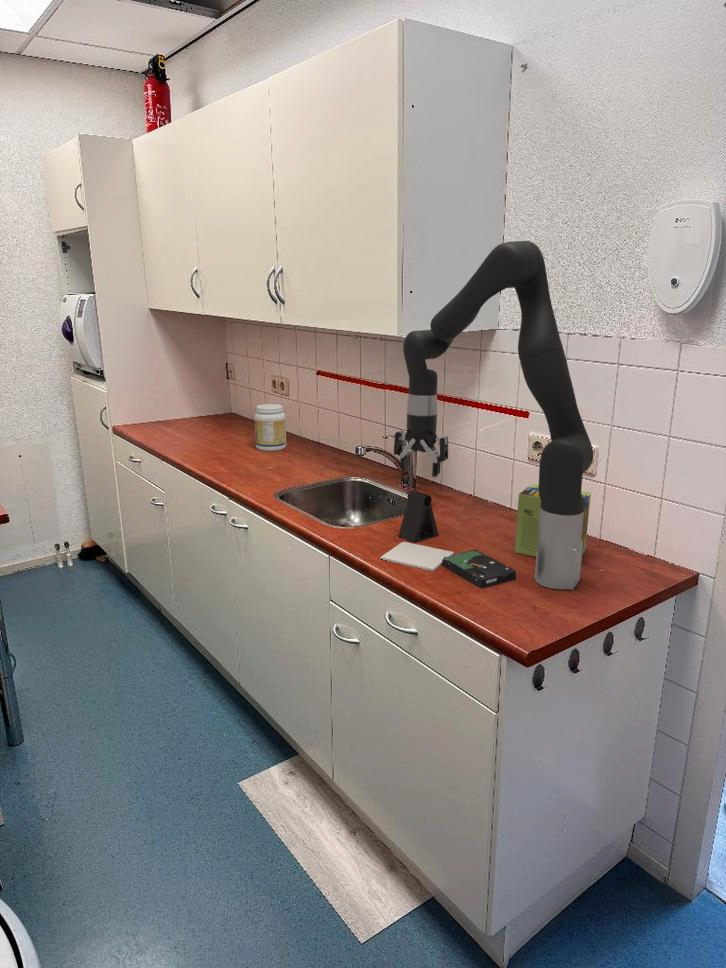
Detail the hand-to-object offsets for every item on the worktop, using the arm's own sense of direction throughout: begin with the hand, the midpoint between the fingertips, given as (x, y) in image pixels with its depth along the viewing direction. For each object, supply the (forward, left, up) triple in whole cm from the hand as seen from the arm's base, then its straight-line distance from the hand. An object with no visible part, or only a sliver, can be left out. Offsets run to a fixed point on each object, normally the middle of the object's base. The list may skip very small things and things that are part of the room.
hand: (419, 473), depth 177 cm
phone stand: (0, 0, -17) cm, 17 cm away
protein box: (-33, -7, -17) cm, 38 cm away
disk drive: (-22, +14, -18) cm, 32 cm away
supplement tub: (+94, -59, -17) cm, 112 cm away
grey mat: (-6, +13, -17) cm, 22 cm away
